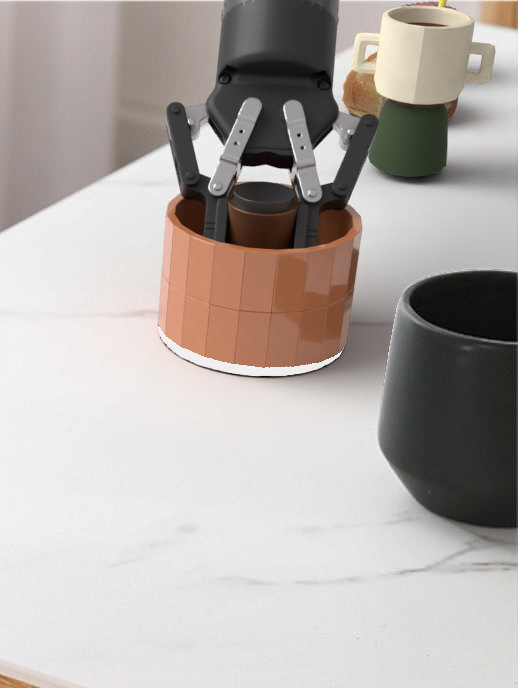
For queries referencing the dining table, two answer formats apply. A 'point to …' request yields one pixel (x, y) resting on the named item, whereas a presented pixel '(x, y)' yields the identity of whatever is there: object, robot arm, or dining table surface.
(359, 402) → the dining table surface
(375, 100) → the bread roll
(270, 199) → the spice shaker
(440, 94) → the character mug
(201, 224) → the pot
